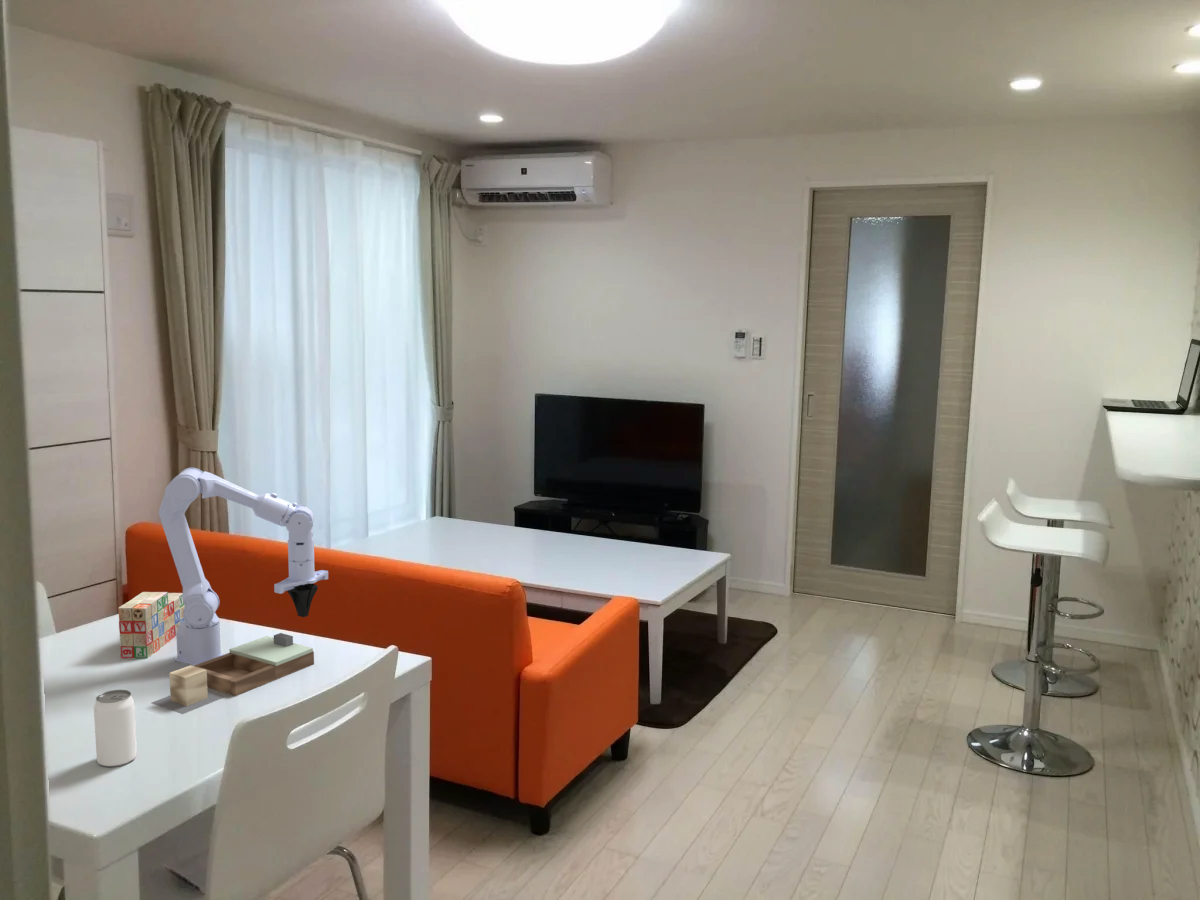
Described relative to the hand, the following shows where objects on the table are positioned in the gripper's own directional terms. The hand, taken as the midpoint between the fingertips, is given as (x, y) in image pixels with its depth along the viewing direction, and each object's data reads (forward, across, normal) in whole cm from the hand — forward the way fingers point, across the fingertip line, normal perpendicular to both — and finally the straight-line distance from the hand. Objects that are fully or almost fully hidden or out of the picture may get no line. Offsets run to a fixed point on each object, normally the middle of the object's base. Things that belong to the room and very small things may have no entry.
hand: (302, 615), depth 225 cm
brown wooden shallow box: (+9, -15, 0) cm, 18 cm away
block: (+9, -32, -1) cm, 33 cm away
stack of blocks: (+10, -13, +36) cm, 40 cm away
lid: (+6, -10, 0) cm, 11 cm away
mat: (+9, -32, -1) cm, 33 cm away
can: (+10, -55, -12) cm, 57 cm away
